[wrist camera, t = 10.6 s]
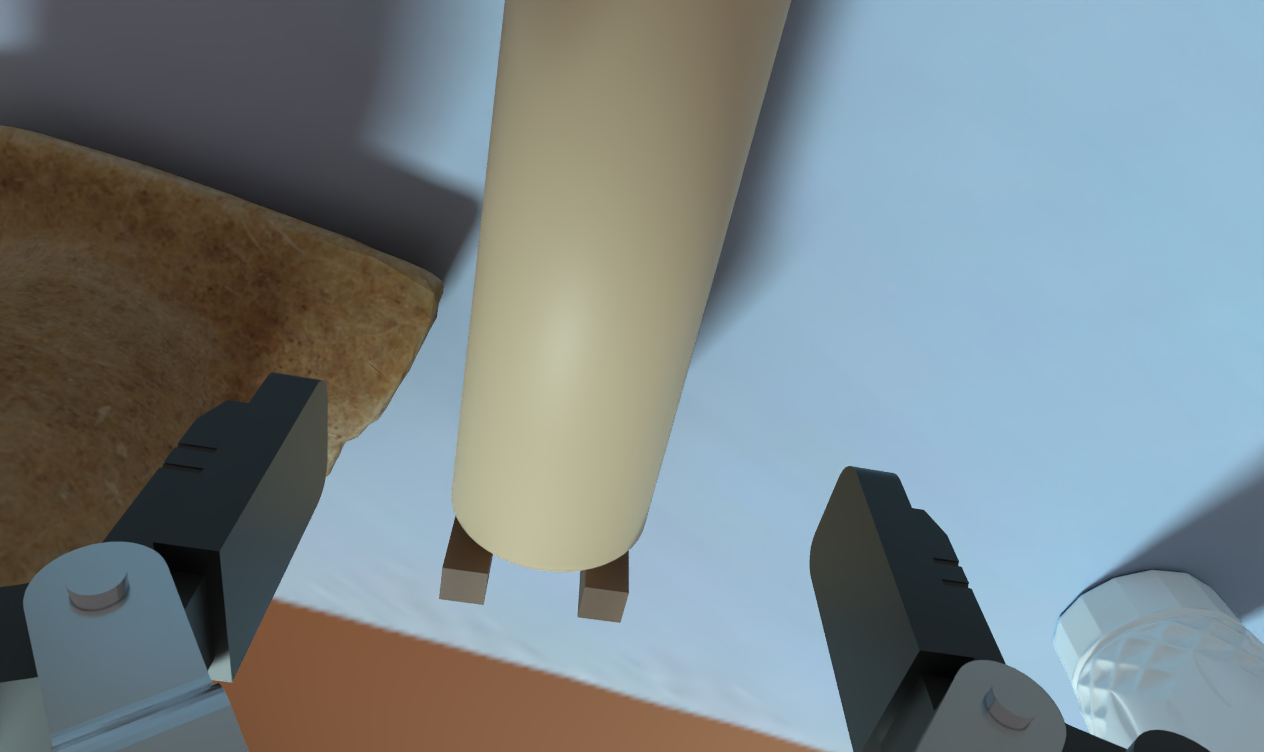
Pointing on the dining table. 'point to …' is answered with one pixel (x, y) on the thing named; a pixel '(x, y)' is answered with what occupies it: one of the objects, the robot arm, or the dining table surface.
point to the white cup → (1163, 662)
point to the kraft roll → (598, 260)
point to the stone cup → (165, 330)
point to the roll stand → (471, 568)
